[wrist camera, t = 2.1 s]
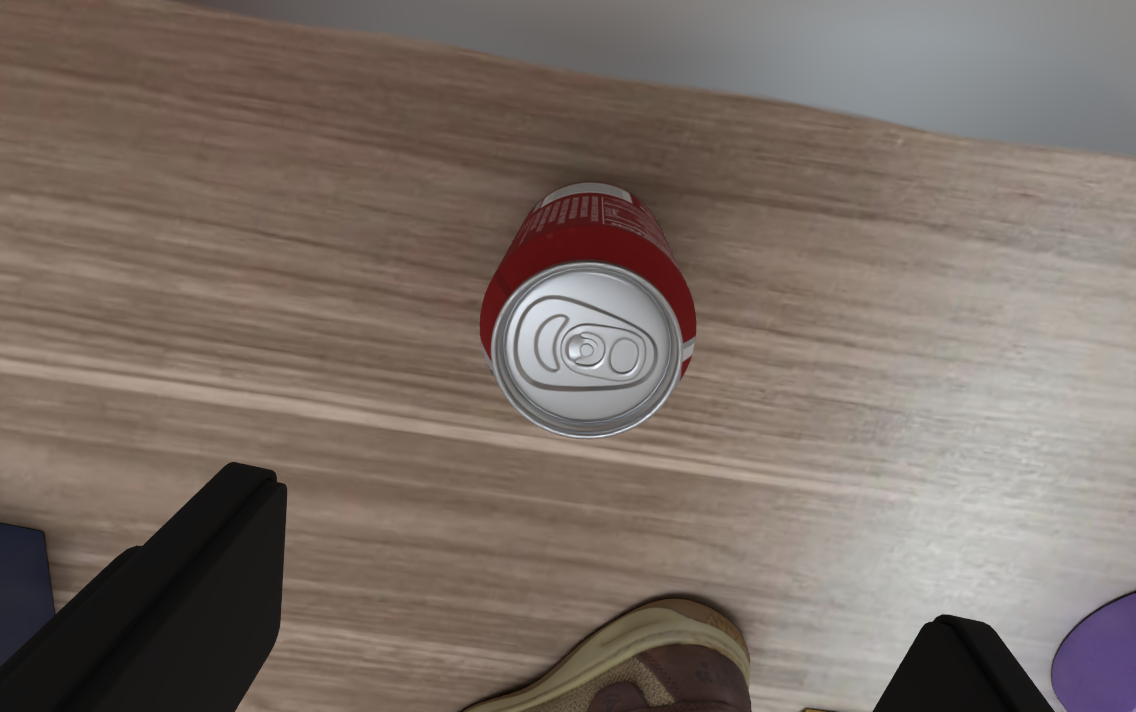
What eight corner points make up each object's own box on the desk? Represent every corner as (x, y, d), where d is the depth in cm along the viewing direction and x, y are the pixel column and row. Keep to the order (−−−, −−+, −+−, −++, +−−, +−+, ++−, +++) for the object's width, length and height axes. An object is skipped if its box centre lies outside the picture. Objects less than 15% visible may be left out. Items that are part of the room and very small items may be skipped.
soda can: (529, 166, 27) (483, 216, 16) (679, 194, 28) (735, 263, 17) (508, 310, 30) (456, 436, 19) (645, 334, 30) (673, 474, 19)
